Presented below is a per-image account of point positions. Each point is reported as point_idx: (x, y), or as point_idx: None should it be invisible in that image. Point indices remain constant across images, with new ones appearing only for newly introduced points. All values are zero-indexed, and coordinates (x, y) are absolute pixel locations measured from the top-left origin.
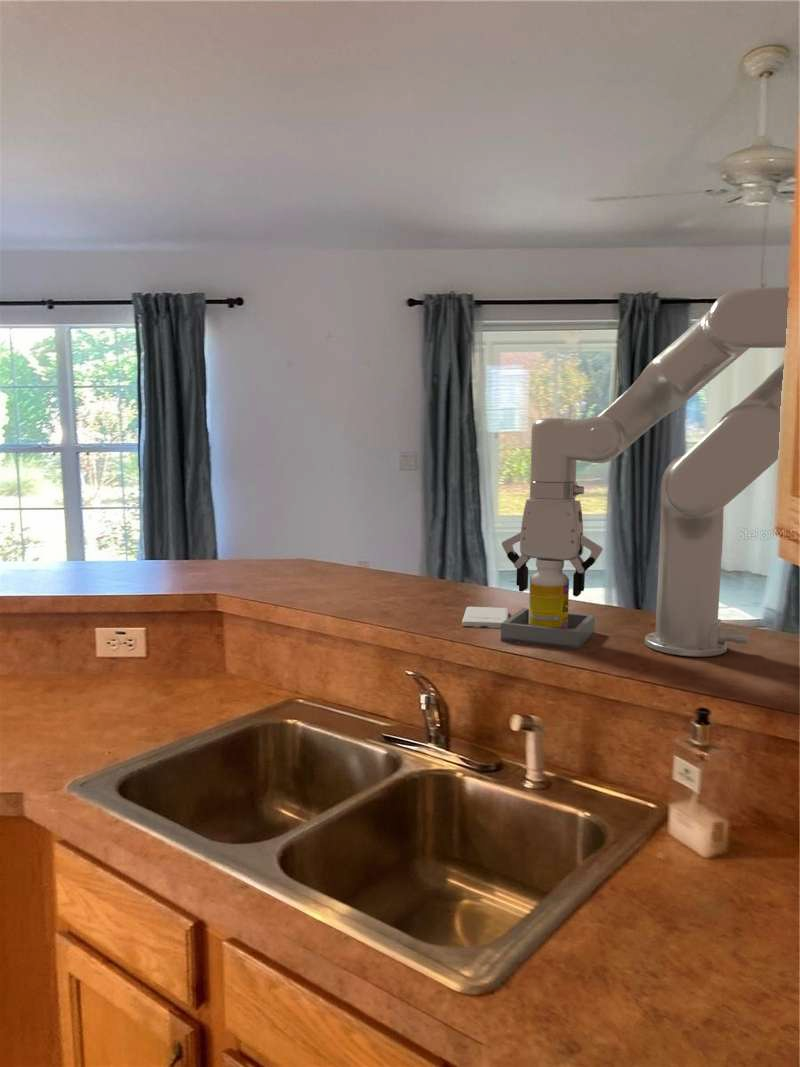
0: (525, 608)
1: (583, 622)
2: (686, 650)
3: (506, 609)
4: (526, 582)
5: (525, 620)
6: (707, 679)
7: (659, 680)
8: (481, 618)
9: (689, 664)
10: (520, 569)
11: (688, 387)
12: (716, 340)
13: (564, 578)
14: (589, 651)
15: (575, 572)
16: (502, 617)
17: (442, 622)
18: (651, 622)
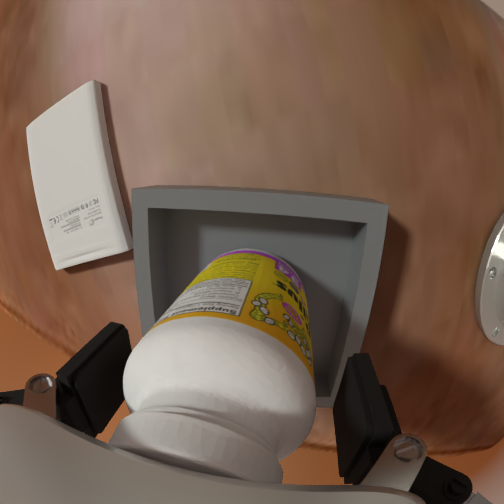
0: (138, 188)
1: (357, 320)
2: None
3: (90, 94)
4: (117, 361)
5: (162, 216)
6: (484, 413)
7: (432, 443)
8: (68, 225)
9: (495, 370)
10: (89, 434)
11: None
12: None
13: (295, 449)
14: None
15: (352, 460)
16: (100, 192)
17: (30, 247)
18: (471, 53)
